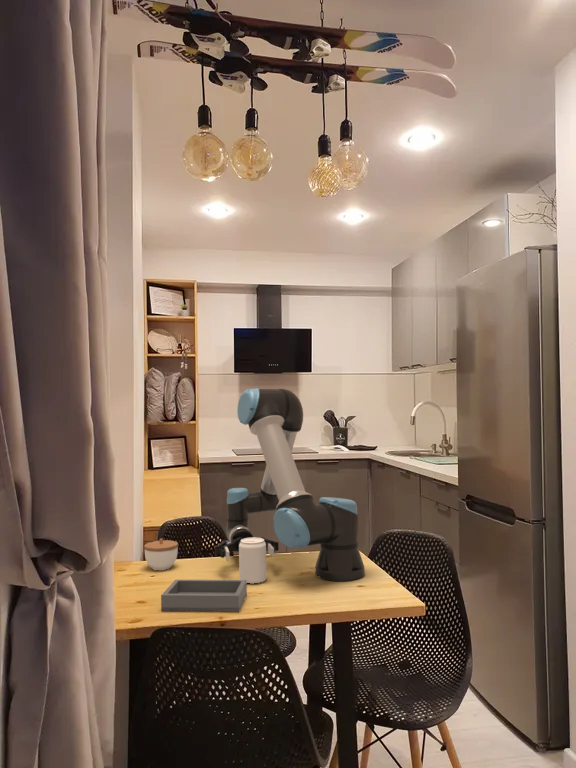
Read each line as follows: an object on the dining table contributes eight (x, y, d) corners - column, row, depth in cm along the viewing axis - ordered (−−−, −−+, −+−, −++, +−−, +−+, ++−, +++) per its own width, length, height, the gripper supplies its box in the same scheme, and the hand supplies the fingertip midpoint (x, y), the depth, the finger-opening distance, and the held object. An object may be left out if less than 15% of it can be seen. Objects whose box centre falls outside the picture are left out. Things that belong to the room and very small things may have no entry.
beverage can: (260, 586, 158) (259, 544, 159) (234, 583, 161) (234, 542, 162) (270, 578, 166) (270, 537, 167) (246, 575, 169) (245, 536, 169)
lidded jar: (185, 566, 181) (184, 537, 181) (161, 574, 172) (161, 544, 172) (161, 561, 186) (161, 534, 187) (137, 569, 177) (137, 540, 178)
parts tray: (246, 594, 151) (246, 579, 151) (238, 611, 138) (238, 595, 138) (175, 594, 153) (175, 579, 153) (161, 611, 140) (161, 595, 140)
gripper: (277, 547, 188) (291, 564, 168) (204, 553, 183) (209, 570, 162) (277, 525, 189) (290, 539, 168) (204, 530, 183) (208, 545, 163)
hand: (250, 554), depth 165 cm, fingers open, 13 cm apart
